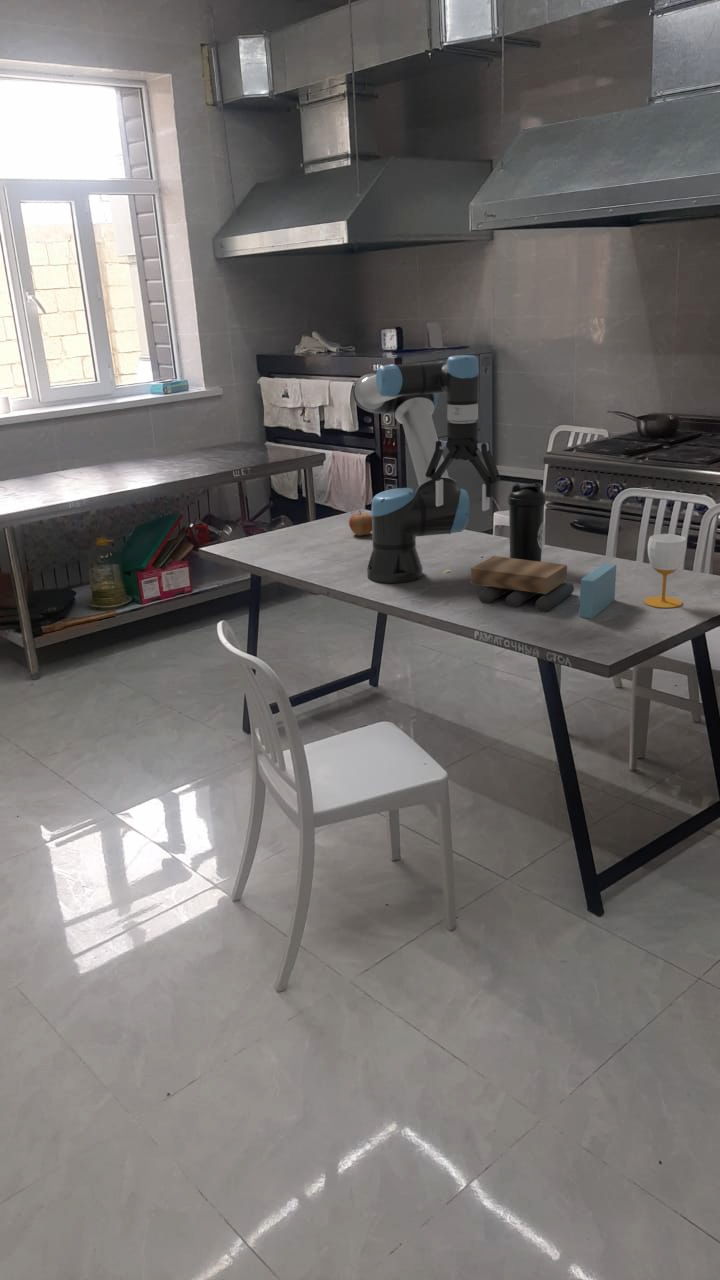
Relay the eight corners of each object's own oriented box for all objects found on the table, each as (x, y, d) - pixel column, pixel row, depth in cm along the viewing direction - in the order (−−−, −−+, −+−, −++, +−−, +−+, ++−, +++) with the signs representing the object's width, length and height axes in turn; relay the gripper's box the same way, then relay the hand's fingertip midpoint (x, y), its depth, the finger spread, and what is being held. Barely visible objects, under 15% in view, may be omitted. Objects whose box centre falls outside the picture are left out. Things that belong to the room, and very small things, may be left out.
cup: (676, 610, 228) (681, 544, 223) (638, 605, 233) (642, 540, 227) (686, 600, 235) (692, 535, 230) (649, 595, 240) (653, 532, 234)
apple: (347, 538, 308) (346, 513, 305) (351, 532, 315) (350, 507, 312) (372, 538, 306) (371, 513, 304) (376, 532, 314) (375, 507, 311)
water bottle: (543, 571, 263) (545, 487, 255) (505, 570, 265) (507, 487, 258) (544, 561, 273) (546, 480, 265) (507, 561, 275) (509, 480, 267)
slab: (471, 583, 241) (471, 568, 240) (493, 570, 252) (493, 556, 250) (546, 594, 231) (546, 578, 230) (566, 580, 241) (567, 564, 240)
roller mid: (508, 608, 236) (520, 606, 234) (504, 595, 236) (517, 593, 233) (534, 591, 249) (546, 589, 247) (530, 578, 248) (543, 576, 246)
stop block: (579, 616, 226) (580, 579, 223) (602, 598, 239) (604, 563, 236) (591, 618, 225) (593, 581, 222) (614, 599, 237) (616, 564, 234)
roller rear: (482, 605, 240) (494, 600, 238) (476, 593, 240) (487, 588, 237) (509, 589, 252) (520, 584, 250) (503, 577, 252) (514, 571, 250)
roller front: (534, 610, 232) (548, 614, 231) (536, 596, 231) (550, 600, 229) (559, 592, 245) (572, 596, 243) (561, 579, 243) (574, 583, 242)
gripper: (411, 421, 240) (412, 506, 247) (502, 425, 227) (500, 514, 235) (425, 417, 246) (426, 500, 253) (515, 421, 233) (513, 508, 241)
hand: (462, 507), depth 244 cm, fingers open, 12 cm apart
